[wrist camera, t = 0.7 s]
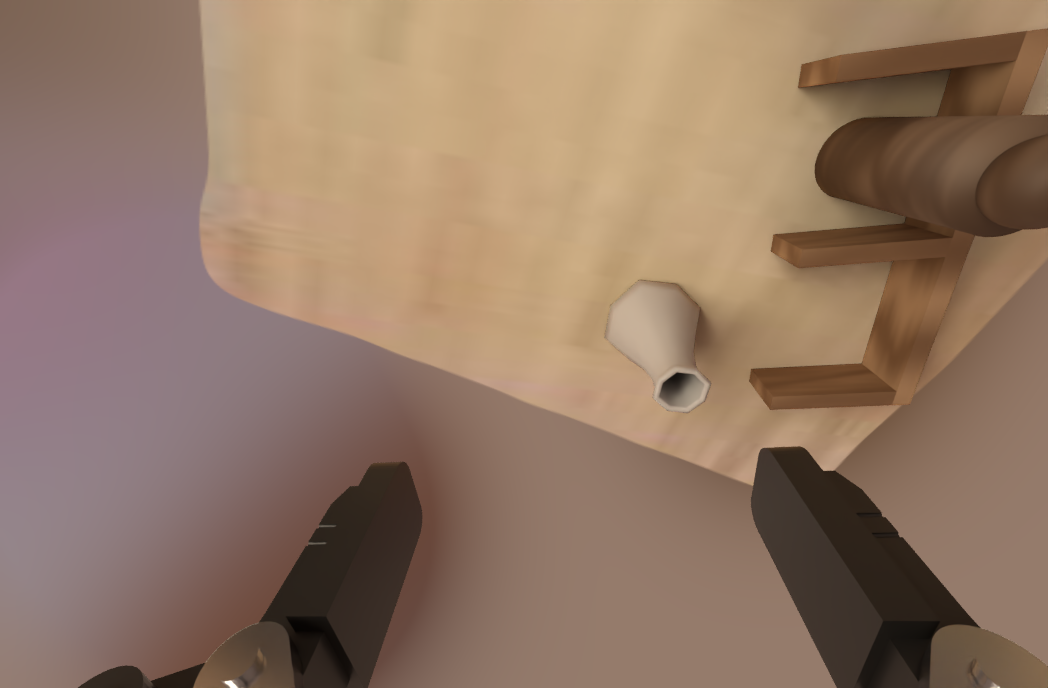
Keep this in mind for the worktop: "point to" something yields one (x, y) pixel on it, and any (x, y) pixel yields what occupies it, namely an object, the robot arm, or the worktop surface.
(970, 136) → the pepper mill
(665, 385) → the flask
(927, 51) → the rack
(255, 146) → the worktop surface
